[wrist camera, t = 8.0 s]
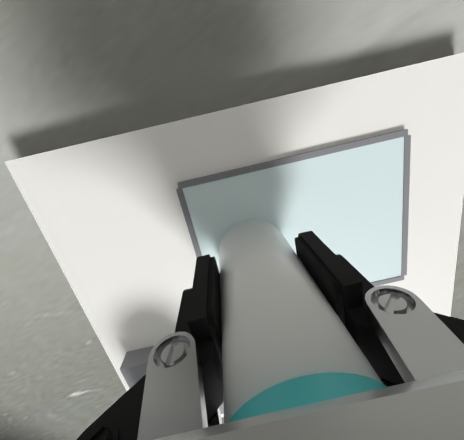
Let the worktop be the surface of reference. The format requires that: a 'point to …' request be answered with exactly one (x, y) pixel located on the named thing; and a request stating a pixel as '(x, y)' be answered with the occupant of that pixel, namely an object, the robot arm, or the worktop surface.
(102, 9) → the worktop surface
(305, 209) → the picture board
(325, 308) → the white cylinder
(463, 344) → the robot arm
